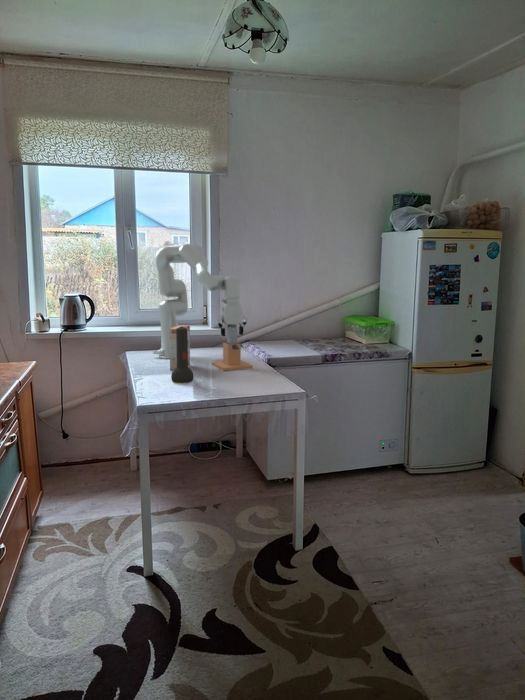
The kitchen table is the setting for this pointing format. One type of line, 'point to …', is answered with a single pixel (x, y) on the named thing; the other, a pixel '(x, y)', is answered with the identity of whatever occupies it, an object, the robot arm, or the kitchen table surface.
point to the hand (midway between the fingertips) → (232, 335)
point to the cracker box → (173, 346)
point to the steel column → (232, 334)
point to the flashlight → (182, 358)
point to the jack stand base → (231, 358)
